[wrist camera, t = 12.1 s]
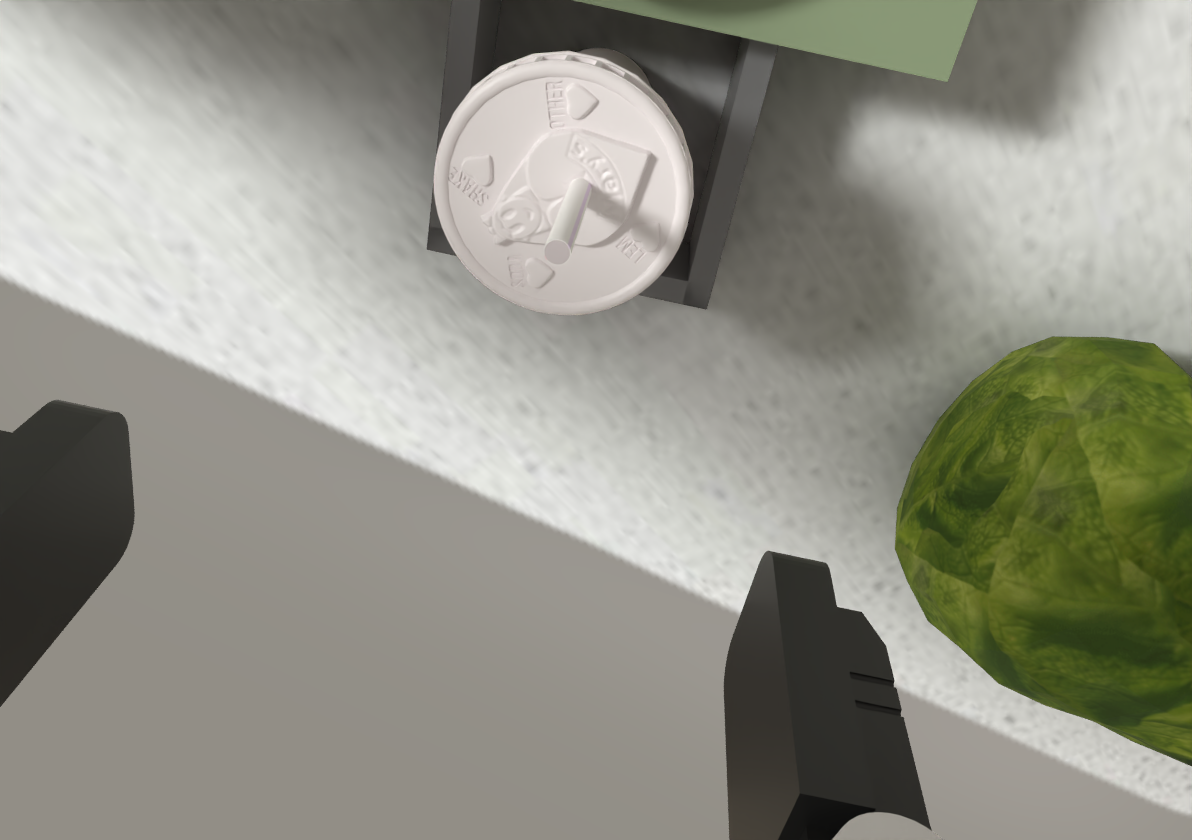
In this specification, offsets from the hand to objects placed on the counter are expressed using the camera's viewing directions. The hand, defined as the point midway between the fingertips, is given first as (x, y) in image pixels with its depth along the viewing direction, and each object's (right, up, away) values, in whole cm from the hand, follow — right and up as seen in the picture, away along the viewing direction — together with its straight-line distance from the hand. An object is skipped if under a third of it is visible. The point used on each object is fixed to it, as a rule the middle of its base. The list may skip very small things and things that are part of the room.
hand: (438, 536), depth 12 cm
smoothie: (+2, +12, +19) cm, 23 cm away
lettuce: (+23, -2, +25) cm, 34 cm away
